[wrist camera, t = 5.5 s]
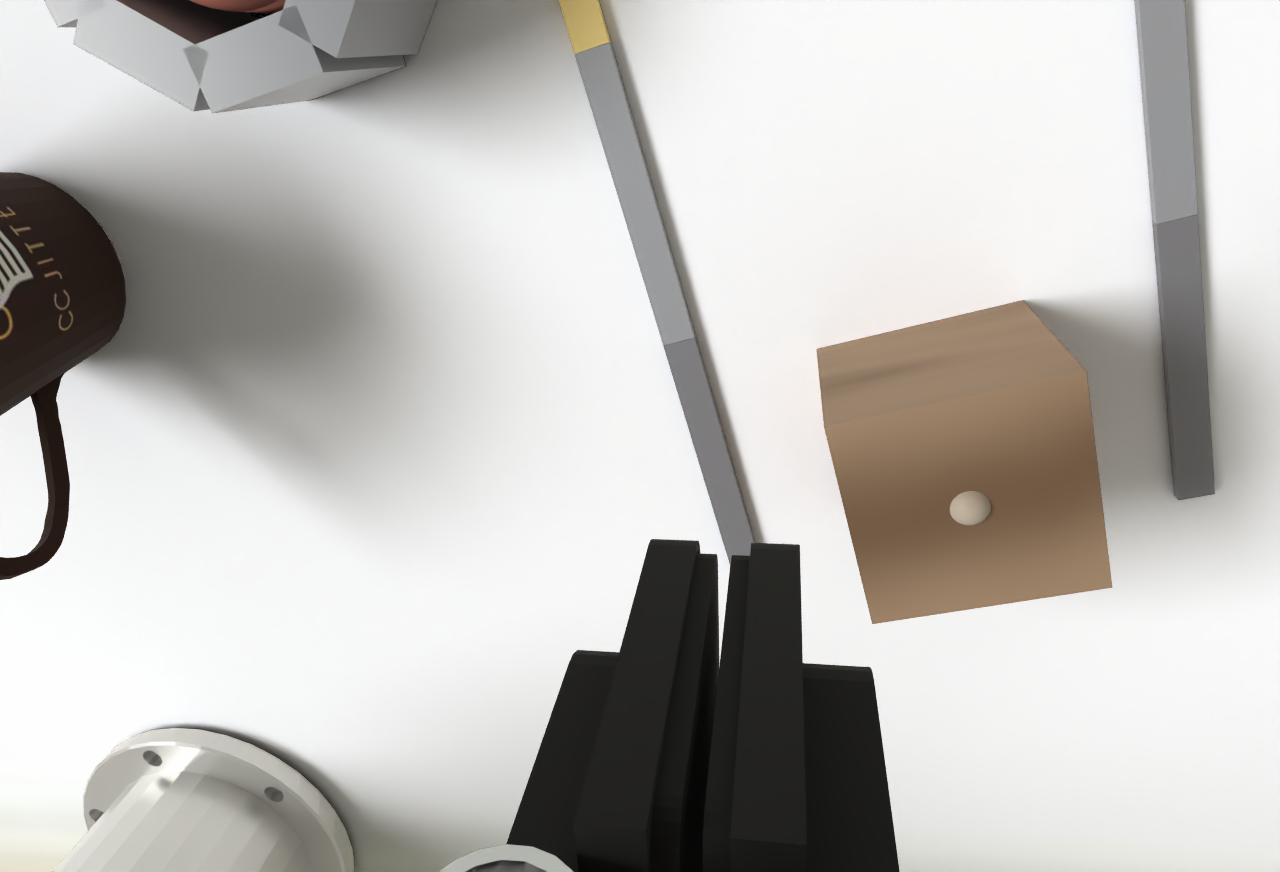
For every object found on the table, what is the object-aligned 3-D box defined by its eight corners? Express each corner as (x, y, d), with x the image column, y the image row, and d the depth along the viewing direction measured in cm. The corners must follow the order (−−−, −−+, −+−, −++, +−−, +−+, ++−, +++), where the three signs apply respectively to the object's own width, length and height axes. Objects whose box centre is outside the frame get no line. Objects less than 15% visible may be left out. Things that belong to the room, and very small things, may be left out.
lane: (1210, 489, 27) (1214, 493, 26) (734, 571, 30) (733, 576, 30) (1134, -712, 17) (1140, -724, 17) (448, -371, 21) (443, -376, 20)
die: (1058, 477, 27) (1129, 592, 22) (856, 514, 29) (873, 631, 23) (1033, 296, 25) (1104, 372, 20) (816, 348, 27) (824, 431, 21)
